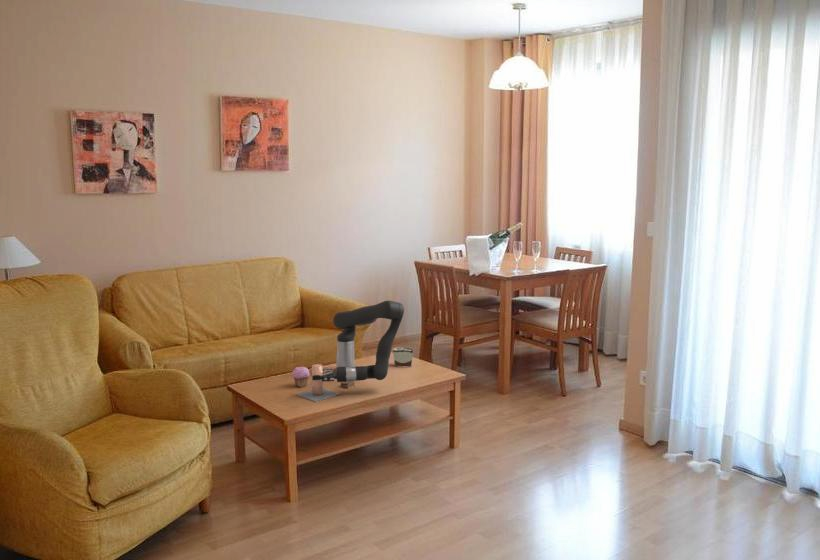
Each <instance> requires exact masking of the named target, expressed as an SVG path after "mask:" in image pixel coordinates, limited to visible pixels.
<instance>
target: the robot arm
mask: <svg viewBox="0 0 820 560" xmlns="http://www.w3.org/2000/svg"><path fill="white" fill-rule="evenodd" d="M404 313H405V307H404V305H403V304H402V303H401V302H397V301H393V300H384V301H382V302H378V303H377V304H373V305H371V304H370V305H368V306H362V307H359V308H356V309H353V310H346V311H339V312H337V313H335V315H334V316H333V320H332V323H333V325H334V326H335V328H337V329H339V330H342V331H341V332H340V333H338V334H337V337H336V340H337V341H336V342H337V343H336V344H337V346H336V347H337V348H336V349H337V353H336V355H335V356H336V357H335V358H336V359H335V360H336V362H335V363H336V369H335V370H333V369H332V368H325V369H323V375H313V376H312V375H311V381H312V380H322V381H323V382H335V380H336V382H337V383H341V382H351V381H353V382H357V381H358V382H359V381H365V380H370V379H371V380H372V379H373V380H374V379H376V380H377V381H382V380H384V379H385V378H386V377H387V375H388V373H389V363H390V362H389V361H390V358H391V357H390V356H391V354H392V350H393V345H394V341H395V338H396V335H397V333H398V330H399V329H400V325H401V323H402V320H403V317H404ZM377 319H387V320H390V325H389V327H388V329H387V330H386V331H385V333H384V334H383V336H381V338H380V340H379V342H378V344H377V348H376V353H375V364H371V365H365V366H363V365H362V366H361V365H360V366H359V365H357V366H355V336H356V326H364V325H370V324H374V323H375V322H376V321H377Z"/></svg>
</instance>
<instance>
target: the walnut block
mask: <svg viewBox="0 0 820 560" xmlns="http://www.w3.org/2000/svg"><path fill="white" fill-rule="evenodd" d="M341 386H342V387H341ZM352 386H353V387H355V381H351V382H340V387H341V388H344V387H346V388H345V389H350V388H353V387H352ZM349 387H350V388H349Z"/></svg>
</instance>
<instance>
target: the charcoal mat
mask: <svg viewBox="0 0 820 560" xmlns="http://www.w3.org/2000/svg"><path fill="white" fill-rule="evenodd" d="M336 395H338V396H340V393H337V392H335V391H331V390H328V389H327V388H326V389H325V388H323V394H321V395H314V394H312V389H309V390H306V391H302V392H299V393H296V394H295V396H297V397H299V396H300V398H302V397H303V398H302V399H305V398H306V399H305V400H308V399H309V400H308V401H311V400H312V401H311V402H313V401H315V402H314V403H317V402H316V401H318V402H321V401H324V400H327V398H328V399H330V397H331V398H334V397H337V396H336ZM333 396H334V397H333ZM323 399H324V400H323ZM320 400H321V401H320Z"/></svg>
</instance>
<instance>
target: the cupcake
mask: <svg viewBox="0 0 820 560" xmlns="http://www.w3.org/2000/svg"><path fill="white" fill-rule="evenodd" d="M310 373H311V372H310V370H309V369H308V367H306V366H297V367H295V368H294V369H293V370H292V373H291V375H292V377H293V378H294V385H295V386H296V387H299V388H304V387H306V386H307V384H308V381H309V377H310V375H311V374H310Z"/></svg>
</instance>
